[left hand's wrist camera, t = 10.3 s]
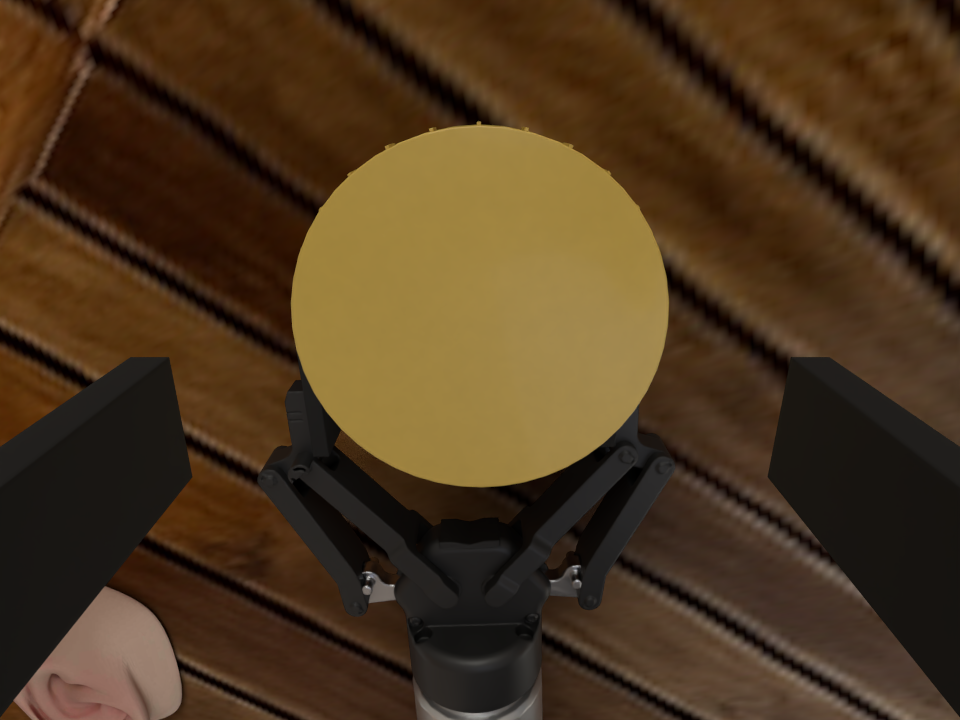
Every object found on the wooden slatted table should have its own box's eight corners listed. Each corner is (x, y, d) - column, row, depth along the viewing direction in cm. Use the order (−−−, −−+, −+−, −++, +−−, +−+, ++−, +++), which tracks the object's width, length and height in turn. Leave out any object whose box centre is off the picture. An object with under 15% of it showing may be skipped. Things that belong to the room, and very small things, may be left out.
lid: (726, 242, 19) (751, 255, 17) (537, 507, 23) (541, 541, 21) (405, 44, 17) (396, 35, 15) (252, 368, 21) (231, 391, 19)
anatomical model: (-51, 611, 37) (145, 629, 38) (-3, 566, 41) (174, 583, 41) (-14, 764, 42) (159, 778, 42) (26, 712, 46) (185, 725, 46)
